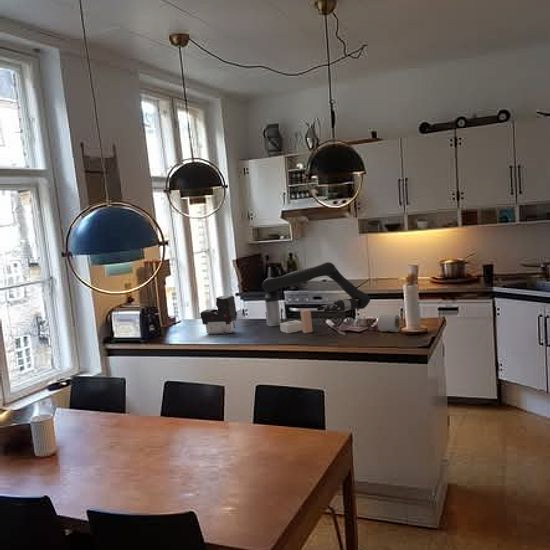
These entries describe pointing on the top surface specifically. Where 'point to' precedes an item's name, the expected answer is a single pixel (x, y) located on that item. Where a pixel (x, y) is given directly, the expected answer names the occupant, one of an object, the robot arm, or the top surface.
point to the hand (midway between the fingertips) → (320, 309)
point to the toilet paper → (389, 323)
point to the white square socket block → (291, 326)
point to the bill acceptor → (220, 316)
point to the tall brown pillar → (306, 321)
